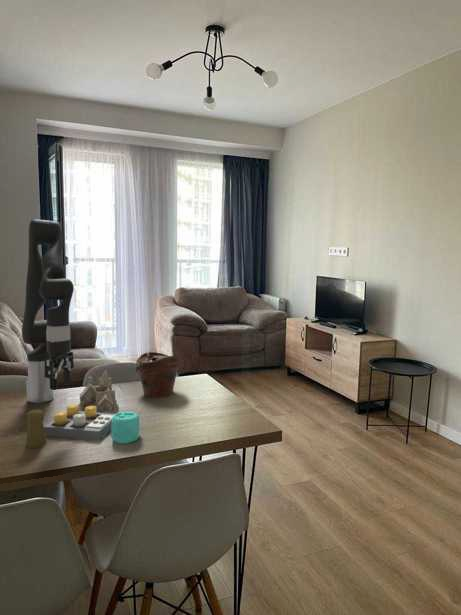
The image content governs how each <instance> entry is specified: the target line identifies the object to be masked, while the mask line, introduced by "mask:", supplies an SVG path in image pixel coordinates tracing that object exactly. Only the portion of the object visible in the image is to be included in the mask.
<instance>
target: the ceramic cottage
mask: <svg viewBox="0 0 461 615" xmlns="http://www.w3.org/2000/svg"><path fill="white" fill-rule="evenodd" d="M93 379H94V378H93V376H88V381H87V382H88V383H87V385H86V386H85V388H84V389H83V390H82V391H81V393H79V404H77V405H78V408H79V411H82V412H85V407H88V406H96V407H97V413H109V414H117V413H119V411H120V406H119V404H118V401H117V399H116V391H115V389H113V388H112V385H113V384H112V376H110V377H109V376H108V371H107V370H104V373H102V376H101V377H98V386H95V385H94V380H93Z"/></svg>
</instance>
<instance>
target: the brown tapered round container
mask: <svg viewBox="0 0 461 615" xmlns="http://www.w3.org/2000/svg"><path fill="white" fill-rule="evenodd" d="M179 366H181V363H180V360H179V357H178V356H177V355H168V354H164V353H161V352H160V353H159V352H155V351H154V352H153V351H152V352H151V351H148V352H145V353H142V354H141V355H140V356H139V357H138V358H137V360H136V364H135V370H134V373H135V372H137V374H139V377H140V383H141V385H142V391H143V394H145V395H146V396H148V397H153V398H160V397H161V398H162V397H167V396H168V397H169V396H170V395H171V394H173V392H174V386H175V382H176V378H177V372H178V367H179Z"/></svg>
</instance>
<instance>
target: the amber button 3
mask: <svg viewBox="0 0 461 615" xmlns="http://www.w3.org/2000/svg"><path fill="white" fill-rule="evenodd" d="M85 415H86V418H93V417H96V416H97V407H96V406H88V407H85Z"/></svg>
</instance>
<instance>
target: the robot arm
mask: <svg viewBox="0 0 461 615" xmlns="http://www.w3.org/2000/svg"><path fill="white" fill-rule="evenodd" d="M62 231H63V230H62V226H61V224H60V222H58V221H55V220H49V219H48V220H47V219H46V220H45V219H37V218H36V219H32V220H30V222H29V227H28V263H27V274H26V283H25V303H24V304H25V306H24V313H23V320H22V327H21V337H22V341H23V343H24V344H26V345H34V344H39V346H37V347H36V348H35V349H33V350H31V351H29V352H28V353H27V355H26V356H27V357H26V358H27V373H28V374H27V377H26V379H25V381H26V382H25V384H26V401H27V402H30V403H33V404H43V403H47V402H50V401H52V400H54V391H55V390H57V389H58V379H57V378H58V374H59V373H60V372H61V369H62V371H63V372H62V373H63V382H64V383H70V382H71V371H72V369H74V367H75V364H74V352H73V351H72V343H71V340H72V339H71V329H70V314H69V313H70V307H71V302H72V299H73V294H74V290H75V288H74V284H73V282H72V281H71V280H70V279H69V278H65V276H66V273H65V267H64V263H63V232H62ZM39 246H51V247H50V248H49V249H48V250H47V251H46V252H45V254H44V255H43V256H41V253H40V252H39ZM47 301H61V303H60V304H59V305H56V306H52V307H49V308H47V309H46V314H45V315H46V319H39V320H35V319H36V318H37V314H38V313H39V311H40V309H41V308H42V307H43V306H44V304H46V302H47Z"/></svg>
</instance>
